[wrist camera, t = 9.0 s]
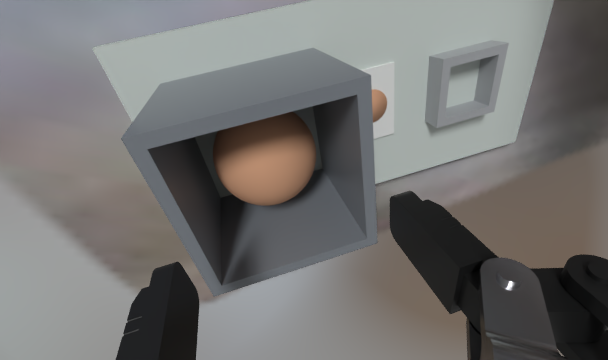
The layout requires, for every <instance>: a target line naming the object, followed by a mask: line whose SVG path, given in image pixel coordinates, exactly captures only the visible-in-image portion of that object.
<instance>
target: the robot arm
mask: <svg viewBox="0 0 608 360" xmlns="http://www.w3.org/2000/svg"><path fill="white" fill-rule="evenodd" d="M390 229H391V233H392V235H393V237H394V239H395V241H396V242H397V243H398V245H399V246H400V247H401V249H402V250H403V252H404V253H405V254H406V256H407V257H408V258H409V260H410V261H411V262H412V264H413V265H414V266H415V268H416V269H417V270H418V272H419V273H420V274H421V276H422V277H423V278H424V280H425V281H426V282H427V284H428V285H429V287H430V288H431V289H432V290H433V292H434V293H435V295H436V296H437V297H438V299H439V300H440V301H441V303H442V304H443V305H444V307H445V308H446V309H447V311H448V312H449V313H450V314H452V313H455V312H457V311H460V310H462V312H463V313H464V314H465V315H466V317H467V321H466V324H467V325H466V327H467V357H468V360H608V260H607V259H604V258H601V257H597V256H592V255H576V256H573V257H571V258H570V259H569V260H568V261H567V263H566V264H565V266H564V268H541V269H529V268H528V267H526V266H525V265H523V264H522V263H520V262H517V261H515V260H512V259H508V258H499V257H497V256H496V255H495V254H494V253H493V252H491V251H490V250H489V249H488V248H487V247H486V246H485V245H484V244H483V243H482V242H481V241H480V240H478V239H477V238H476V237H475V236H474V235H473V234H472V233H471V232H470V231H469V230H467V229H466V228H465V227H464V226H463V225H461V224H460V222H458V220H456V219H455V218H454V217H452V215H451V214H450V213H449V212H448V211H447V210H445V209H444V208H443V207H442V206H441V205H438V204H436V203H434V202H432V201H430V200H425V201H422V200H421V199H420V198H419V197H418V196H417V195H416V194H415V193H413V192H412V191H407V192H404V193H401V194H398V195H394V196H392V197H391V198H390ZM198 314H199V297H198V293H197V290H196V288H195V286H194V284H193V283H192V281H191V279H190V278H189V276H188V275H187V273H186V272H185V270H184V268H183V267H182V265H181V264H180V263H179V262H175V263H172V264H168V265H165V266H162V267H159V268H156V269H154V271H153V273H152V277H151V281H150V286H149V287H146V288H143V289H141V291H140V292H139V294H138V295H137V297H136V298H135V300H134V301H133V303H132V305H131V309H130V312H129V315H128V319H127V321H128V323H126V326H125V330H124V336H123V337H122V340H121V343H120V347H119V350H118V354H117V357H116V360H196V348H197V332H198V316H199V315H198ZM557 349H558V350H559V351H560V352H561V353H562V354H563V355H564V356H565V357H563V356H561V355H560V354H559V352H558V350H557Z"/></svg>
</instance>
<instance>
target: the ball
mask: <svg viewBox="0 0 608 360" xmlns="http://www.w3.org/2000/svg"><path fill="white" fill-rule="evenodd" d="M213 161H214V167H215V170H216V173H217V175H218V177H219V179H220V181H221V182H222V184H223V185H224V186H225V187H226V189H227V190H228V191H229V192H230V193H232V194H233V195H234V196H236V197H237V198H239V199H241V200H242V201H245V202H247V203H250V204H255V205H261V206H270V205H276V204H280V203H283V202H286V201H288V200H290V199H291V198H293V197H295V196H296V195H297V194H298V193H299V192H300V191H302V190H303V188H304V187H305V186H306V185H307V183H308V182H309V180H310V178H311V176H312V174H313V171H314V168H315V163H316V146H315V142H314V138H313V136H312V133H311V131H310V130H309V128H308V126H307V125H306V123H305V122H304V121H303V120H302V119H301V118H300V117H299V116H298V115H297V114H296V113H294V112H293V111H292V112H289V113H285V114H281V115H277V116H273V117H269V118H265V119H262V120H258V121H254V122H250V123H246V124H242V125H239V126H235V127H231V128H227V129H223V130H219V131H218V132H217V135H216V138H215V141H214V146H213Z"/></svg>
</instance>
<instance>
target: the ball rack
mask: <svg viewBox="0 0 608 360" xmlns="http://www.w3.org/2000/svg"><path fill="white" fill-rule="evenodd" d="M553 3H554V0H308V1H304V2H299V3H294V4H290V5H285V6H280V7H276V8H271V9H267V10H262V11H257V12H253V13H248V14H243V15H239V16H234V17H229V18H225V19H220V20H215V21H211V22H206V23H202V24H197V25H192V26H188V27H183V28H178V29H174V30H169V31H164V32H160V33H155V34H150V35H146V36H141V37H137V38H132V39H127V40H123V41H118V42H113V43H109V44H104V45H99V46H96V47H94V48H92V49H93V51H94V53H95V54H96V56H97V58H98V60H99V62H100V64H101V66H102V67H103V69H104V71H105V73H106V75H107V77H108V78H109V80H110V82H111V84H112V86H113V88H114V89H115V91H116V93H117V95H118V97H119V99H120V100H121V102H122V104H123V106H124V108H125V110H126V111H127V113H128V115H129V117H130V119H131V121H132V124H131V125H130V127H129V128H128V129H127V131H126V132H125V134H124V135H123V136H122V138H121V139H122V141H123V143H124V145H125V146H126V148H127V150H128V151H129V153H130V155H131V156H132V158H133V160H134V162H135V163H136V165H137V167H138V168H139V170H140V172H141V173H142V175H143V177H144V179H145V180H146V182H147V184H148V185H149V187H150V189H151V190H152V192H153V194H154V195H155V197H156V199H157V201H158V202H159V204H160V206H161V207H162V209H163V211H164V212H165V214H166V216H167V218H168V219H169V221H170V223H171V224H172V226H173V228H174V229H175V231H176V233H177V235H178V236H179V238H180V240H181V241H182V243H183V245H184V246H185V248H186V250H187V252H188V253H189V255H190V257H191V258H192V260H193V262H194V263H195V265H196V267H197V269H198V270H199V272H200V274H201V275H202V277H203V279H204V280H205V282H206V284H207V286H208V287H209V289H210V291H211V292H212V294H213V296H217V295H220V294H224V293H227V292H230V291H233V290H236V289H239V288H242V287H245V286H248V285H251V284H254V283H257V282H260V281H263V280H266V279H269V278H272V277H275V276H279V275H282V274H285V273H288V272H291V271H294V270H297V269H300V268H303V267H306V266H309V265H312V264H315V263H318V262H321V261H324V260H327V259H330V258H334V257H337V256H340V255H343V254H346V253H349V252H352V251H355V250H358V249H361V248H364V247H367V246H370V245H373V244H376V243H377V218H376V191H375V184H377V183H381V182H384V181H387V180H391V179H394V178H397V177H400V176H404V175H407V174H410V173H414V172H417V171H420V170H424V169H427V168H430V167H434V166H437V165H440V164H444V163H447V162H450V161H454V160H457V159H460V158H464V157H467V156H470V155H474V154H477V153H480V152H483V151H487V150H490V149H493V148H497V147H500V146H503V145H507V144H510V143H513V142H515V141H516V138H517V134H518V131H519V127H520V123H521V120H522V116H523V112H524V109H525V105H526V101H527V98H528V94H529V90H530V87H531V83H532V79H533V76H534V72H535V68H536V65H537V61H538V57H539V54H540V50H541V47H542V43H543V39H544V36H545V32H546V28H547V25H548V21H549V17H550V14H551V10H552V6H553ZM292 111H293V112H294V113H296V114H297V115H298V116H299V117H300V118H301V119H302V120H303V121H304V122H305V123H306V125H307V126H308V128H309V130H310V131H311V133H312V136H313V138H314V142H315V146H316V163H315V168H314V171H313V174H312V176H311V178H310V180H309V182H308V183H307V185H306V186H305V187H304V188H303V190H302V191H300V192H299V193H298V194H297V195H296V196H295V197H293V198H291V199H290V200H288V201H286V202H283V203H280V204H276V205H270V206H261V205H255V204H250V203H247V202H245V201H242V200H241V199H239V198H237V197H236V196H234V195H233V194H232V193H230V192H229V191H228V190H227V189H226V187H225V186H224V185H223V184H222V182H221V181H220V179H219V177H218V175H217V173H216V170H215V167H214V161H213V146H214V141H215V138H216V135H217V132H218V131H219V130H223V129H227V128H231V127H235V126H239V125H242V124H246V123H250V122H254V121H258V120H262V119H265V118H269V117H273V116H277V115H281V114H285V113H289V112H292Z"/></svg>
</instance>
